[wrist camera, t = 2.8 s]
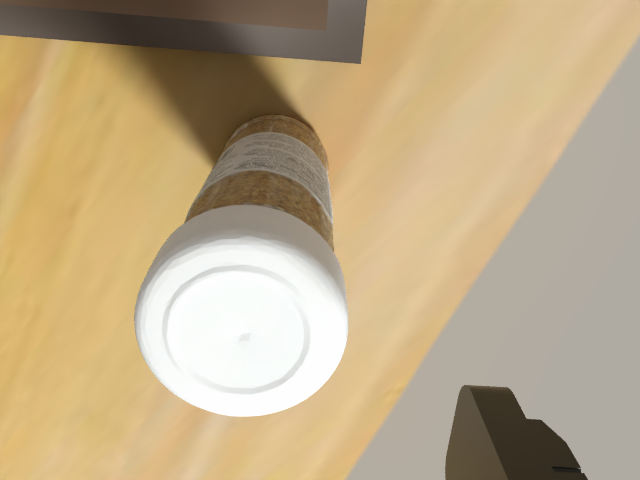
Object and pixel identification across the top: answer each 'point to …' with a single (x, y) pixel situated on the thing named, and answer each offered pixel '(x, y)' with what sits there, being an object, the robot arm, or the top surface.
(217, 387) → the sprinkles bottle
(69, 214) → the top surface
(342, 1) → the wooden tiered slot stand
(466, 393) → the robot arm
